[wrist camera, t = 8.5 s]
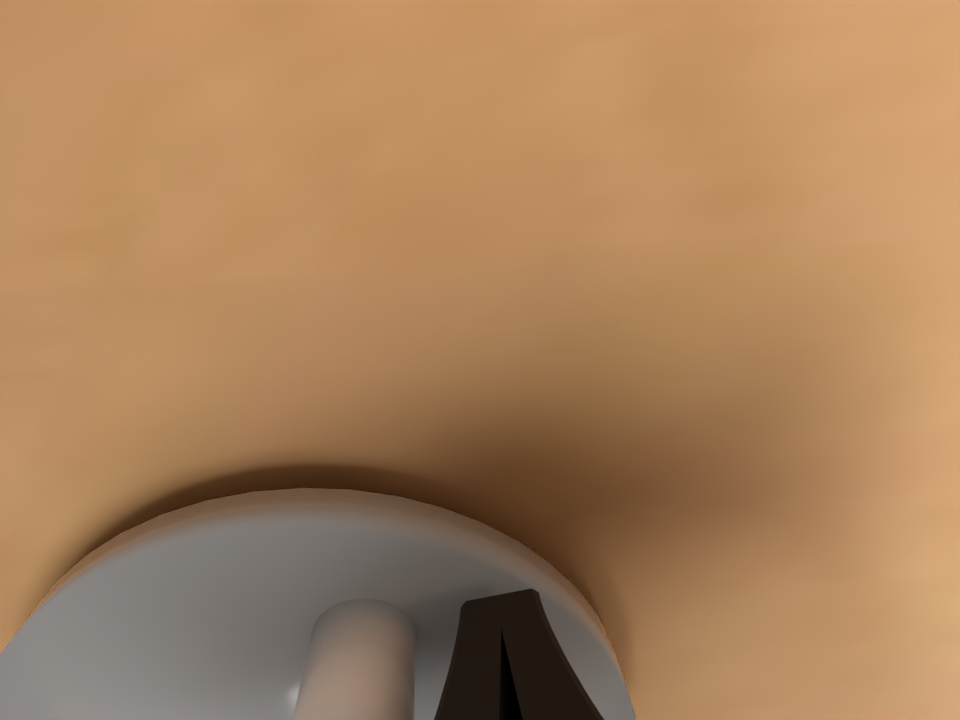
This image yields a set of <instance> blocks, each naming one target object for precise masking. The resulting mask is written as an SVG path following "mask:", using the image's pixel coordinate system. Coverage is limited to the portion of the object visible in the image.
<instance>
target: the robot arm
mask: <svg viewBox="0 0 960 720" xmlns="http://www.w3.org/2000/svg"><path fill="white" fill-rule="evenodd" d="M434 720H604V719H603V717H602V716H601V714H600V713H599V711H598V710H597V708H596V706H595V705H594V703H593V702H592V700H591V699H590V697H589V695H588V694H587V692H586V691H585V689H584V687H583V685H582V684H581V682H580V680H579V679H578V677H577V675H576V673H575V672H574V670H573V668H572V667H571V665H570V663H569V661H568V660H567V658H566V656H565V654H564V652H563V650H562V648H561V646H560V644H559V642H558V640H557V638H556V636H555V634H554V632H553V630H552V628H551V626H550V623H549V621H548V619H547V616H546V614H545V611H544V608H543V605H542V603H541V599H540V595H539V592H538V591H536V590H534V589H532V588H531V589H526V590H520V591H515V592H510V593H505V594H500V595H495V596H489V597H484V598H479V599H474V600H469V601H465V603H464V604H463V605H462V606H461V610H460V619H459V625H458V631H457V636H456V641H455V645H454V650H453V654H452V658H451V662H450V666H449V670H448V674H447V678H446V681H445V684H444V688H443V691H442V695H441V698H440V702H439V705H438V709H437V712H436V715H435V718H434Z"/></svg>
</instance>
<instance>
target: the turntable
mask: <svg viewBox="0 0 960 720" xmlns="http://www.w3.org/2000/svg"><path fill="white" fill-rule="evenodd" d="M531 588H532V589H534V590H536V591H538V592H539V595H540V599H541V603H542V605H543V608H544V611H545V614H546V616H547V619H548V621H549V623H550V626H551V628H552V630H553V632H554V634H555V636H556V638H557V640H558V642H559V644H560V646H561V648H562V650H563V652H564V654H565V656H566V658H567V660H568V661H569V663H570V665H571V667H572V668H573V670H574V672H575V673H576V675H577V677H578V679H579V680H580V682H581V684H582V685H583V687H584V689H585V691H586V692H587V694H588V695H589V697H590V699H591V700H592V702H593V703H594V705H595V706H596V708H597V710H598V711H599V713H600V714H601V716H602V717H603V719H604V720H636V718H635V713H634V710H633V707H632V704H631V701H630V697H629V694H628V691H627V688H626V685H625V681H624V678H623V675H622V672H621V669H620V665H619V662H618V659H617V656H616V653H615V650H614V647H613V644H612V641H611V639H610V637H609V635H608V633H607V632H606V630H605V628H604V626H603V624H602V622H601V620H600V618H599V617H598V615H597V613H596V612H595V611H594V610H593V608H592V607H591V606H590V604H589V603H588V602H587V601H586V599H585V598H584V597H583V595H582V594H581V593H580V591H579V590H578V589H577V588H576V587H575V586H574V585H573V584H572V583H571V582H570V581H569V580H568V579H567V578H565V577H564V576H563V575H562V574H561V573H560V572H559V571H558V570H557V569H556V568H555V567H554V566H553V565H552V564H550V563H549V562H547V561H546V560H545V559H543V558H542V557H540V556H539V555H538V554H536V553H535V552H533V551H532V550H530V549H529V548H528V547H526V546H525V545H523V544H522V543H521V542H519V541H517V540H515V539H513V538H511V537H509V536H507V535H505V534H504V533H502V532H500V531H498V530H496V529H494V528H492V527H490V526H488V525H486V524H484V523H482V522H480V521H477V520H474V519H472V518H469V517H466V516H464V515H461V514H459V513H456V512H453V511H451V510H448V509H445V508H443V507H439V506H435V505H431V504H427V503H423V502H419V501H415V500H411V499H407V498H403V497H399V496H394V495H387V494H380V493H372V492H365V491H358V490H351V489H322V488H293V489H280V490H267V491H254V492H248V493H243V494H238V495H232V496H227V497H222V498H216V499H211V500H206V501H203V502H200V503H196V504H193V505H190V506H187V507H184V508H180V509H177V510H174V511H171V512H168V513H164V514H162V515H159V516H157V517H155V518H153V519H151V520H148V521H146V522H144V523H142V524H140V525H137V526H135V527H133V528H131V529H129V530H126V531H124V532H122V533H121V534H119V535H117V536H116V537H114V538H113V539H111V540H109V541H108V542H106V543H105V544H103V545H102V546H100V547H98V548H97V549H95V550H94V551H92V552H90V553H89V554H87V555H86V556H85V557H84V558H83V559H82V560H80V561H79V562H78V563H77V564H76V565H75V566H73V567H72V568H71V569H70V570H69V571H68V572H67V573H65V574H64V575H63V576H62V577H61V578H60V579H59V580H58V581H57V582H56V583H55V584H54V586H53V587H52V588H51V589H50V590H49V592H48V593H47V594H46V595H45V596H44V598H43V599H42V600H41V601H40V603H39V604H38V605H37V606H36V607H35V609H34V610H33V611H32V613H31V614H30V615H29V617H28V618H27V619H26V621H25V622H24V623H23V625H22V626H21V627H20V629H19V630H18V631H17V633H16V634H15V635H14V637H13V638H12V639H11V641H10V642H9V643H8V645H7V646H6V647H5V649H4V650H3V651H2V653H1V654H0V720H434V718H435V715H436V712H437V709H438V705H439V702H440V698H441V695H442V691H443V688H444V684H445V681H446V678H447V674H448V670H449V666H450V662H451V658H452V654H453V650H454V645H455V641H456V636H457V631H458V625H459V619H460V610H461V606H462V605H463V604H464V603H465V601H469V600H474V599H479V598H484V597H489V596H495V595H500V594H505V593H510V592H515V591H520V590H526V589H531Z"/></svg>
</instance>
